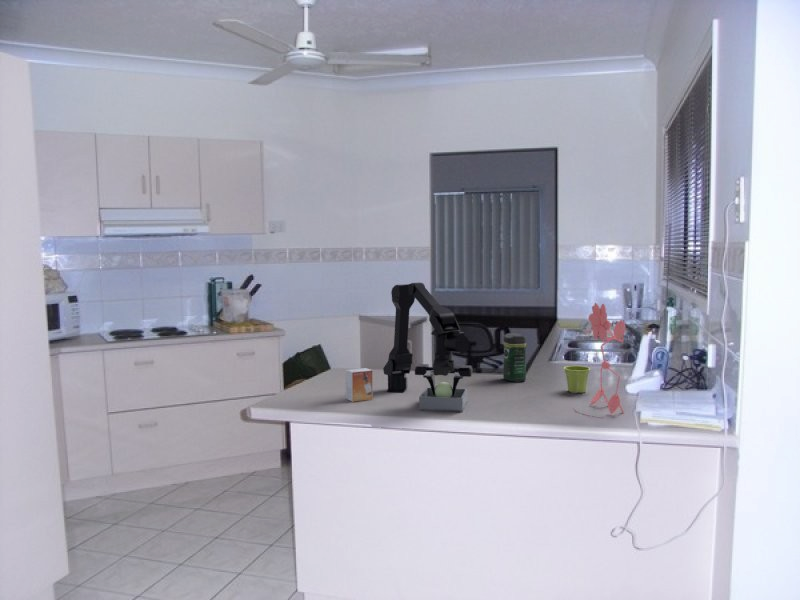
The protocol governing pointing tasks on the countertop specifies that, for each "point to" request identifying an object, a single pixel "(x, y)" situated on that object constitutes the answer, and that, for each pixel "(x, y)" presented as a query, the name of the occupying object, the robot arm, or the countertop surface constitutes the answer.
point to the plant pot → (577, 378)
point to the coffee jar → (514, 357)
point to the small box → (359, 384)
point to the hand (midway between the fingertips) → (443, 395)
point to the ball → (443, 390)
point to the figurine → (599, 328)
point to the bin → (443, 401)
